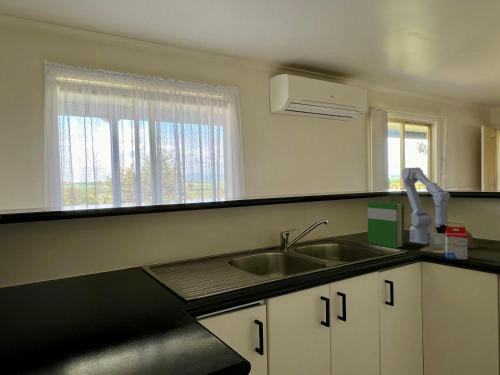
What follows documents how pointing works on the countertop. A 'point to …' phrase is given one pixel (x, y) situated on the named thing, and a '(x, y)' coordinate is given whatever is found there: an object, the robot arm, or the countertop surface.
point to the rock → (471, 241)
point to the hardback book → (386, 224)
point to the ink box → (456, 243)
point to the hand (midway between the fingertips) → (441, 238)
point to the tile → (437, 240)
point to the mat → (433, 249)
